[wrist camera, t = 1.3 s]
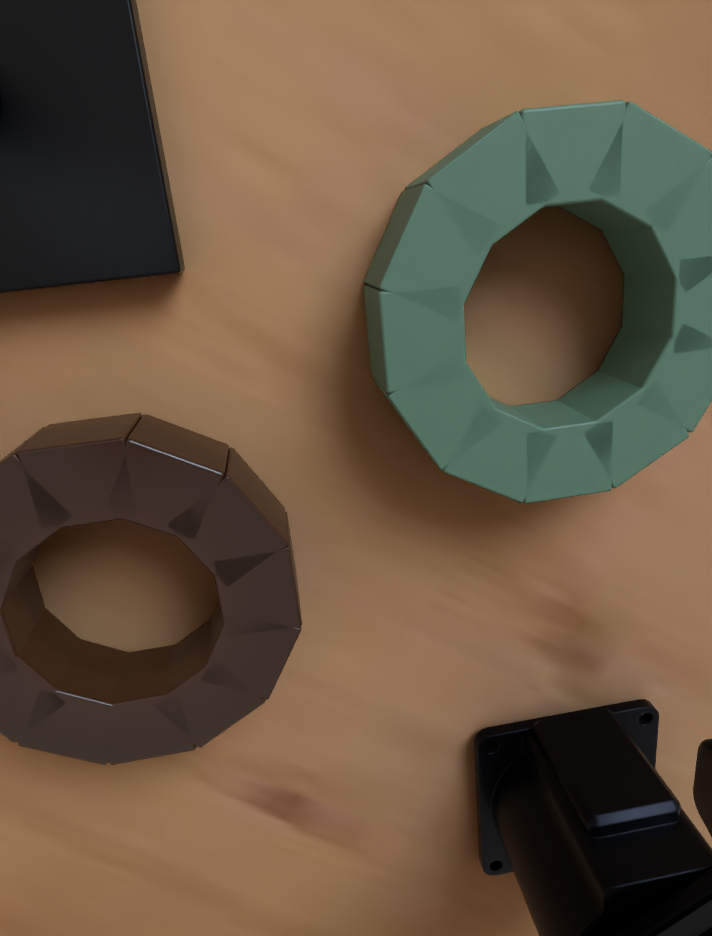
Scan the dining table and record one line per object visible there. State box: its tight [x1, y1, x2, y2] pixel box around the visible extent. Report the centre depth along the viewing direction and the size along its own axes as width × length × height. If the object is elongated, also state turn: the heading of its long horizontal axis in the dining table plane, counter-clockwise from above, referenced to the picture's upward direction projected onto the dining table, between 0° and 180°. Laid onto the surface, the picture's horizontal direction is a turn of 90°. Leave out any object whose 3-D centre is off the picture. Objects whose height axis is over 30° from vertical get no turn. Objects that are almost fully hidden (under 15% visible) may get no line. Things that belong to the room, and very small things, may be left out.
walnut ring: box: [0, 413, 302, 765], centre depth 17 cm, size 9×9×2 cm
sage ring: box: [363, 100, 712, 503], centre depth 17 cm, size 9×9×2 cm
